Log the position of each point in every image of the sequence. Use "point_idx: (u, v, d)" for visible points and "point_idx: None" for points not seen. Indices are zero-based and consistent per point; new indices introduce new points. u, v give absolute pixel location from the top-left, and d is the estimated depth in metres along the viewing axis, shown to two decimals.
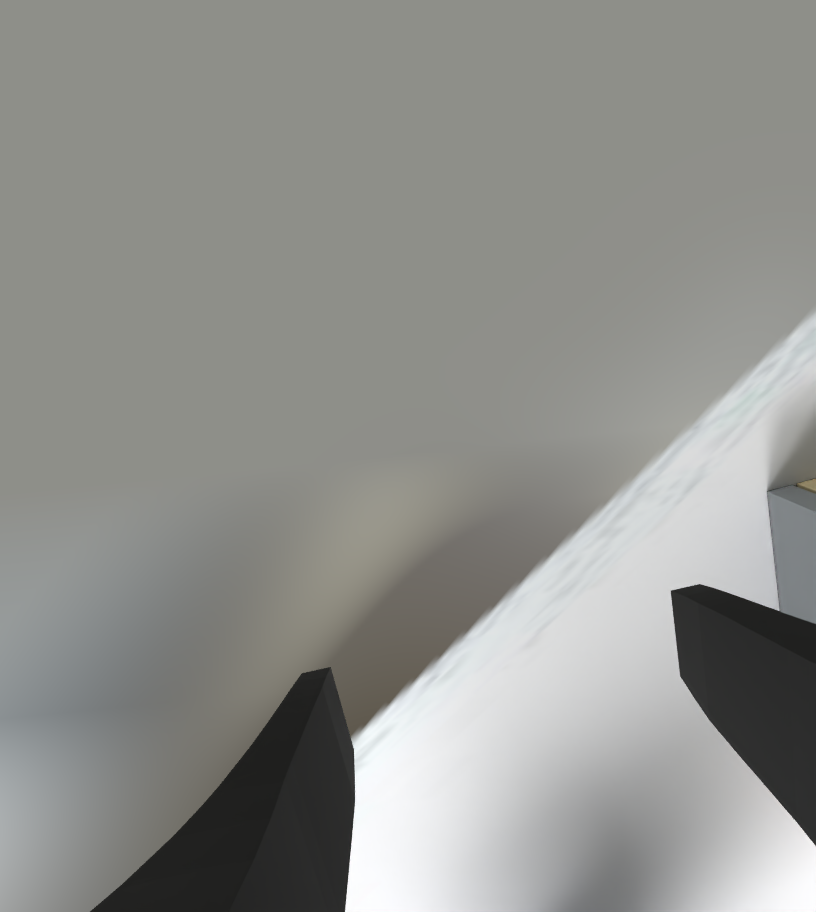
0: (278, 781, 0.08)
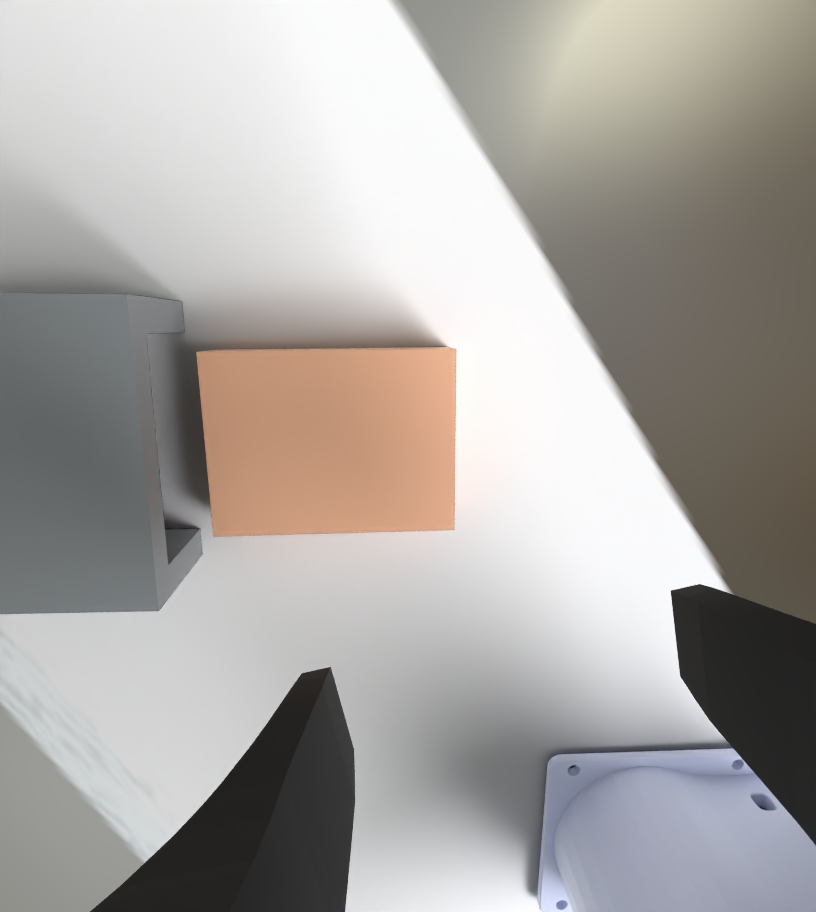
0: (278, 781, 0.08)
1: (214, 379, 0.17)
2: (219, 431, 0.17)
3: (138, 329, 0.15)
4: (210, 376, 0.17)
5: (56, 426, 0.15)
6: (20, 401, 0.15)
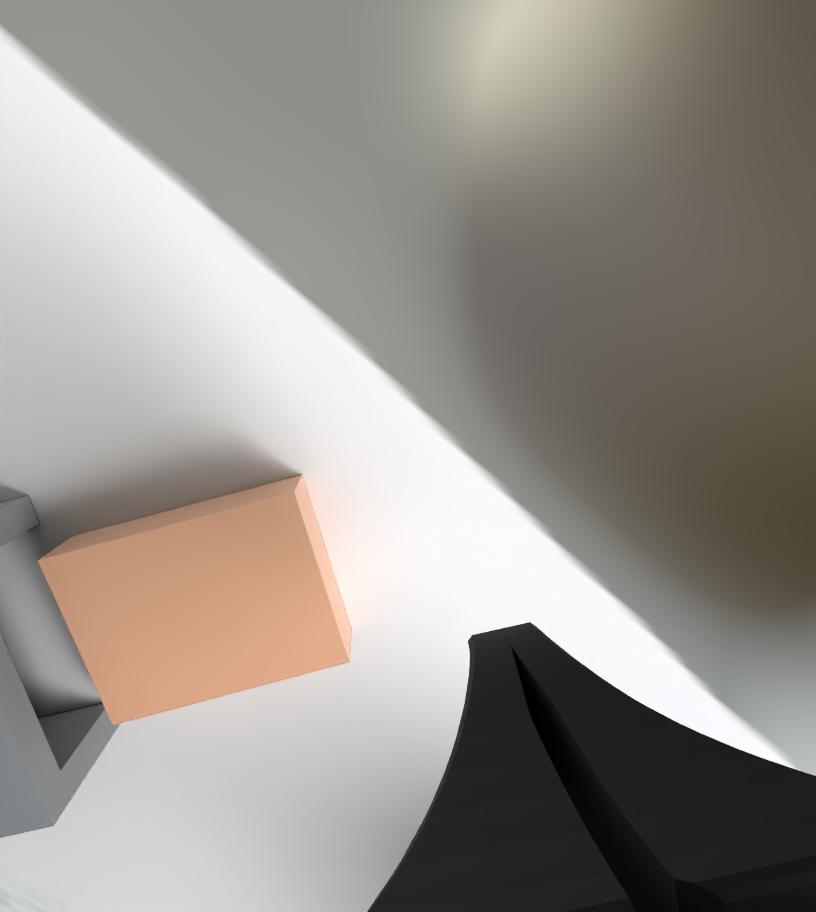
0: (526, 725, 0.08)
1: (64, 581, 0.17)
2: (85, 627, 0.17)
3: None
4: (59, 579, 0.17)
5: None
6: None
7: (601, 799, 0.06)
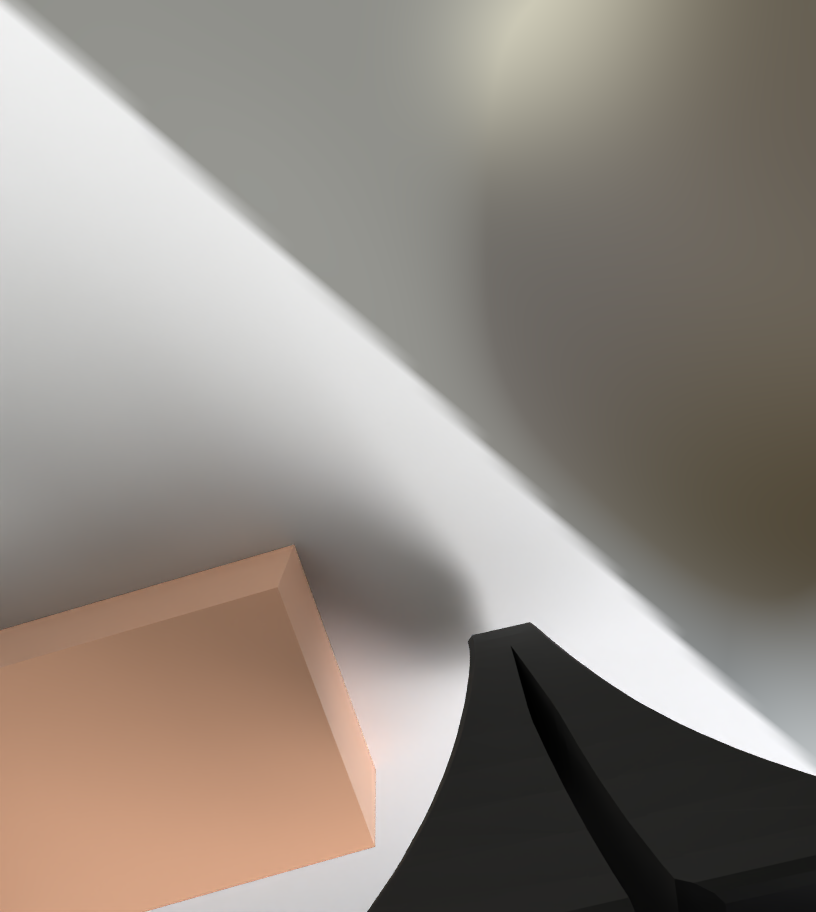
0: (526, 725, 0.08)
1: None
2: None
3: None
4: None
5: None
6: None
7: (601, 799, 0.06)
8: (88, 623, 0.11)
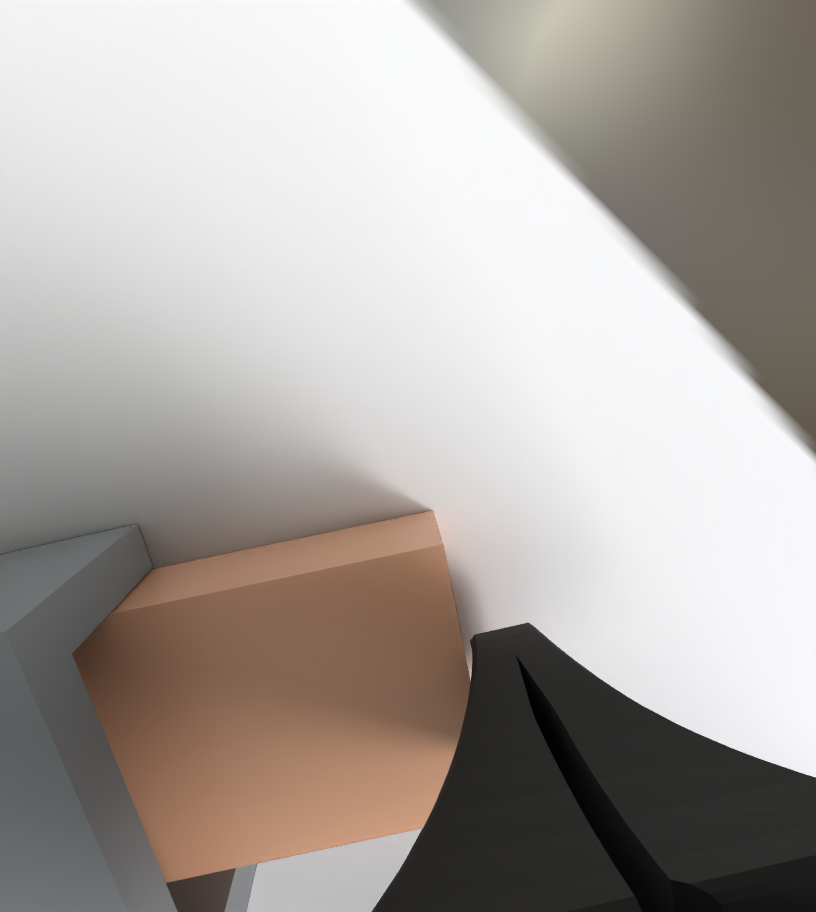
0: (529, 724, 0.08)
1: None
2: None
3: (50, 666, 0.08)
4: None
5: None
6: None
7: (598, 800, 0.06)
8: (236, 568, 0.11)
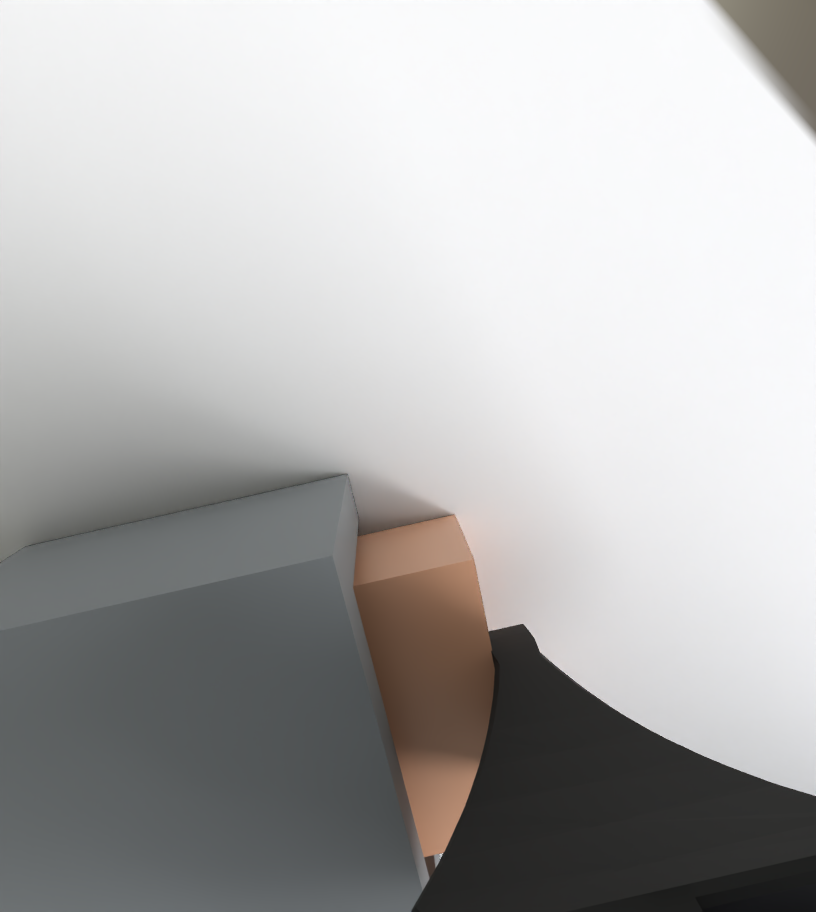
0: (558, 718, 0.08)
1: None
2: None
3: (349, 596, 0.08)
4: None
5: (242, 801, 0.08)
6: (173, 777, 0.08)
7: None
8: None
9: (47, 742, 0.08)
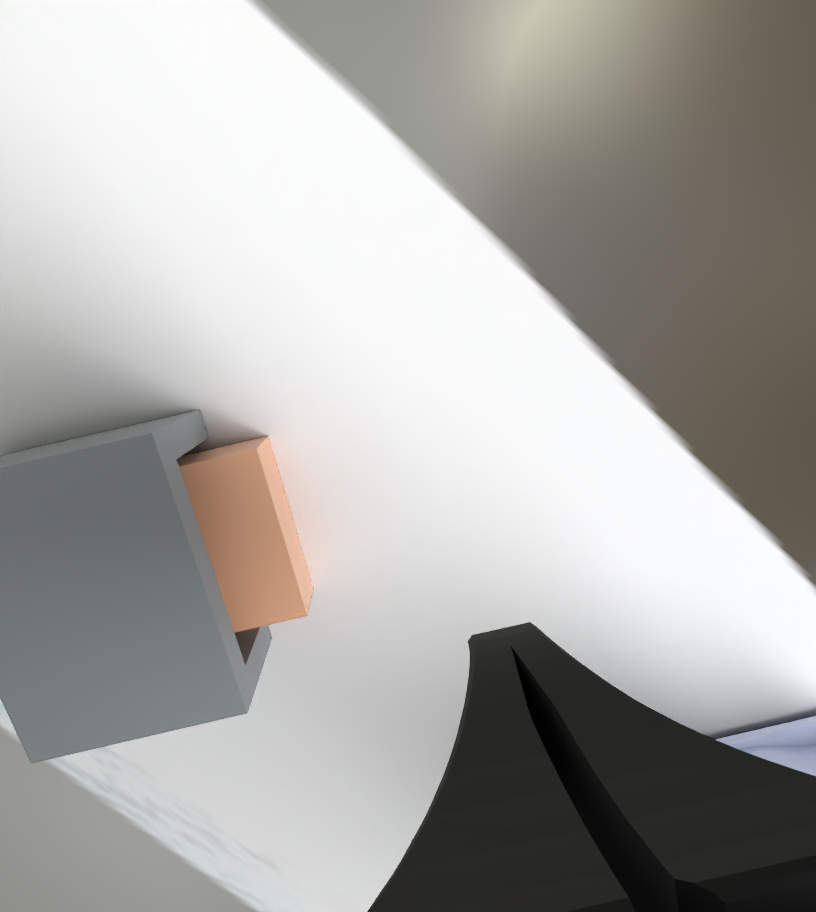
0: (526, 725, 0.08)
1: None
2: None
3: (169, 459, 0.16)
4: None
5: (115, 567, 0.16)
6: (78, 552, 0.15)
7: (601, 799, 0.06)
8: None
9: (12, 531, 0.15)
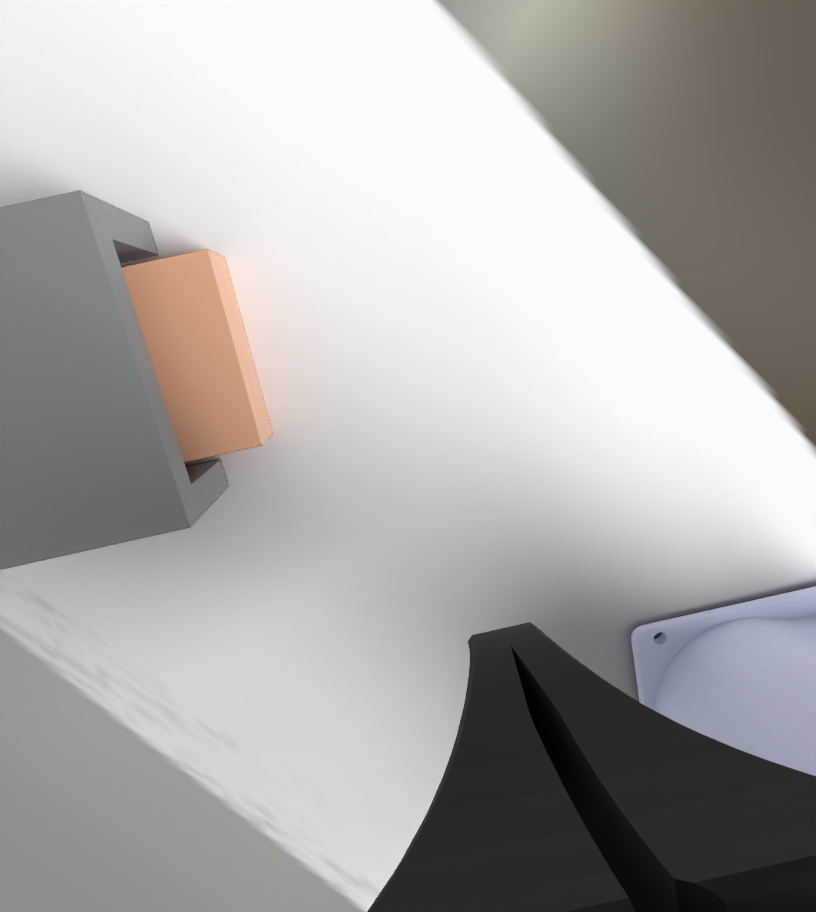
0: (526, 725, 0.08)
1: None
2: None
3: (101, 231, 0.14)
4: None
5: (42, 350, 0.14)
6: (1, 331, 0.14)
7: (601, 799, 0.06)
8: None
9: None
